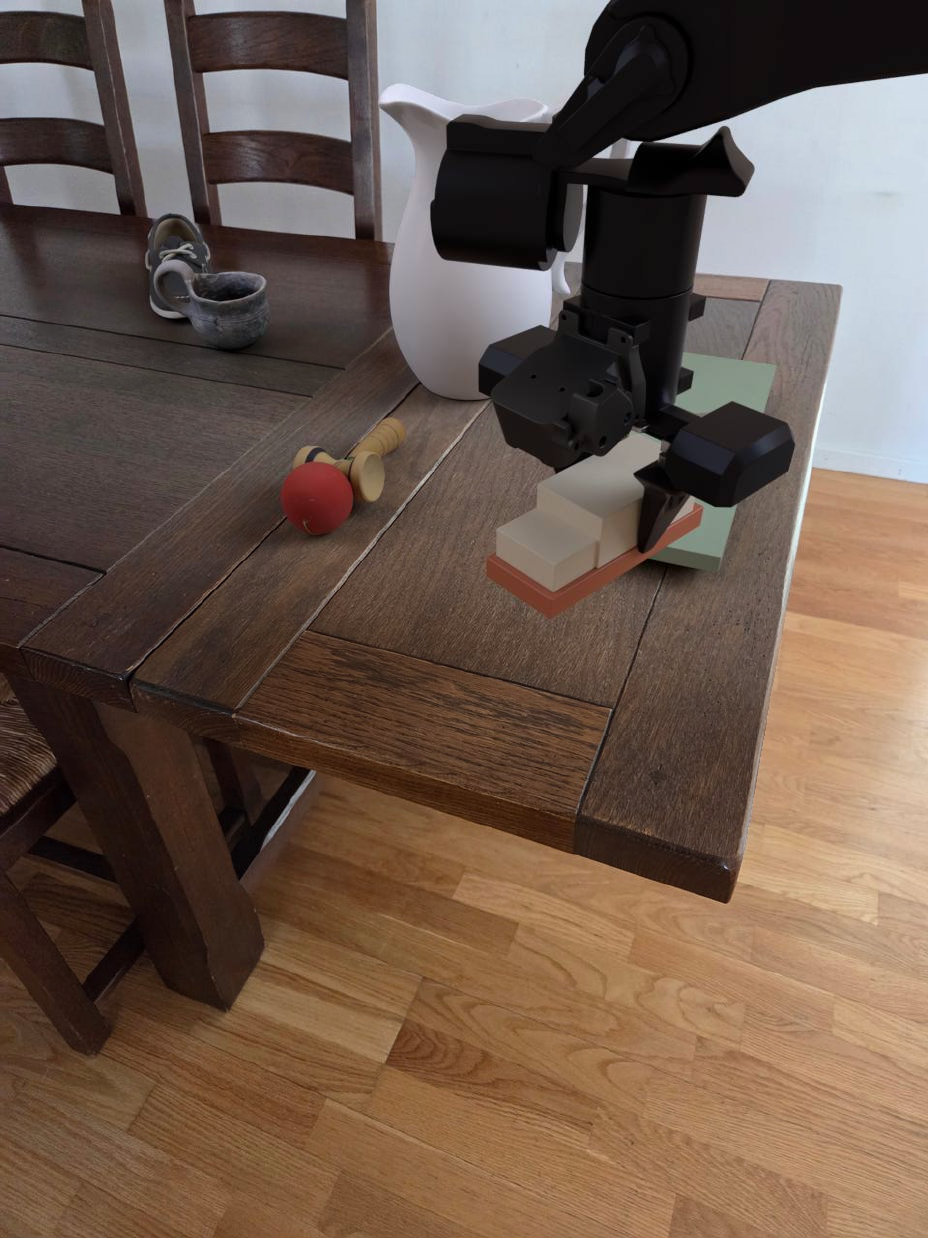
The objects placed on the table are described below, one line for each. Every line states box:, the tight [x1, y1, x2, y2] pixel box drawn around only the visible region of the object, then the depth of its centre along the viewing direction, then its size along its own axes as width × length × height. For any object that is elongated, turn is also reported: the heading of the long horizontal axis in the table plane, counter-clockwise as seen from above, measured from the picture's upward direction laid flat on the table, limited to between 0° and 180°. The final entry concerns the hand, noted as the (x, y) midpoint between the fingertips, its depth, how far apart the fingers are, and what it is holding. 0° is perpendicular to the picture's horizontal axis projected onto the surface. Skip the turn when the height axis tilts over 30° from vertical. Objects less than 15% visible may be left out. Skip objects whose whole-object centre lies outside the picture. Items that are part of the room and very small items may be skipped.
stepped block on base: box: [485, 434, 704, 620], centre depth 53 cm, size 14×6×5 cm, turn 131°
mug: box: [154, 260, 271, 350], centre depth 100 cm, size 10×12×10 cm
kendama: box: [280, 417, 407, 536], centre depth 77 cm, size 8×6×18 cm
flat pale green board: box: [626, 351, 777, 574], centre depth 80 cm, size 36×11×3 cm, turn 158°
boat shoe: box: [144, 212, 212, 319], centre depth 115 cm, size 25×9×8 cm, turn 13°
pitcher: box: [377, 83, 632, 401], centre depth 87 cm, size 24×17×28 cm
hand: (609, 530), depth 54 cm, fingers closed on stepped block on base, 5 cm apart
